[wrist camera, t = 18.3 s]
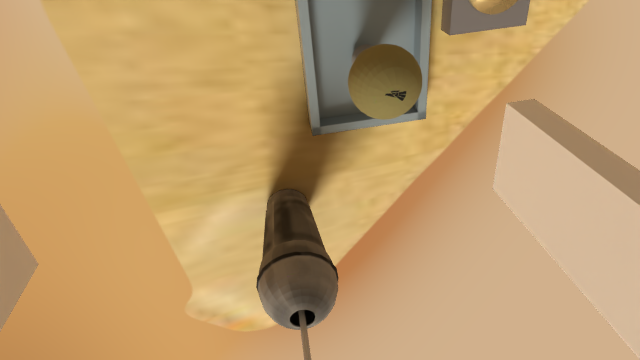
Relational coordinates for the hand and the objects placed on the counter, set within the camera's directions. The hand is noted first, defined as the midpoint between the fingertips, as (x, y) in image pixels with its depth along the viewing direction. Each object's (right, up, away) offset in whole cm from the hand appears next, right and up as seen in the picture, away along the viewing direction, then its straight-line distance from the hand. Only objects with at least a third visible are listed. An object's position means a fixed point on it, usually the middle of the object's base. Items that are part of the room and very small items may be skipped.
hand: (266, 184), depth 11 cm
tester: (+16, +18, +26) cm, 35 cm away
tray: (+5, +12, +28) cm, 31 cm away
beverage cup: (-2, -3, +36) cm, 36 cm away
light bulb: (+5, +12, +27) cm, 30 cm away
